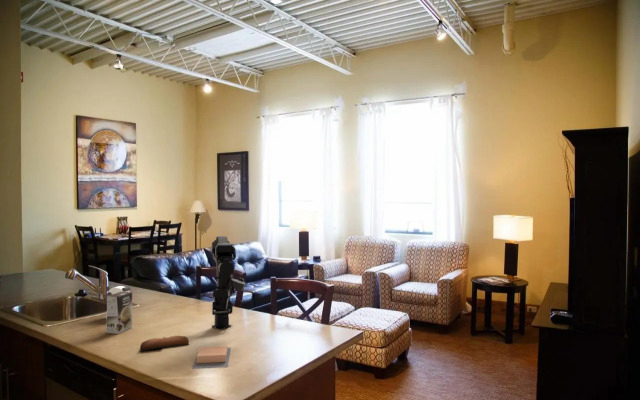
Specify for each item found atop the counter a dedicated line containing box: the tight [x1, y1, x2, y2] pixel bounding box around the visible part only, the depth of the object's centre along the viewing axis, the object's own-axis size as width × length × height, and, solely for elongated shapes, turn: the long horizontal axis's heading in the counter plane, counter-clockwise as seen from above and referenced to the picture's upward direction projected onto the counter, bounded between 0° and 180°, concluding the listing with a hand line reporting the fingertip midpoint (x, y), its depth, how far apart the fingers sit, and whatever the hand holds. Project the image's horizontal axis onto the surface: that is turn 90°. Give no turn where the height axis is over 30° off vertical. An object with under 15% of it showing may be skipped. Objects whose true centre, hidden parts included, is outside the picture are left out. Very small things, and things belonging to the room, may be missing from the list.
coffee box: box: [106, 291, 133, 335], centre depth 186 cm, size 9×6×16 cm
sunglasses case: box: [139, 335, 190, 353], centre depth 167 cm, size 18×7×7 cm
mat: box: [191, 347, 232, 370], centre depth 155 cm, size 19×12×1 cm, turn 9°
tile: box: [196, 345, 228, 363], centre depth 154 cm, size 3×10×9 cm
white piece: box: [105, 284, 131, 320], centre depth 207 cm, size 12×11×15 cm
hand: (224, 310), depth 177 cm, fingers closed
